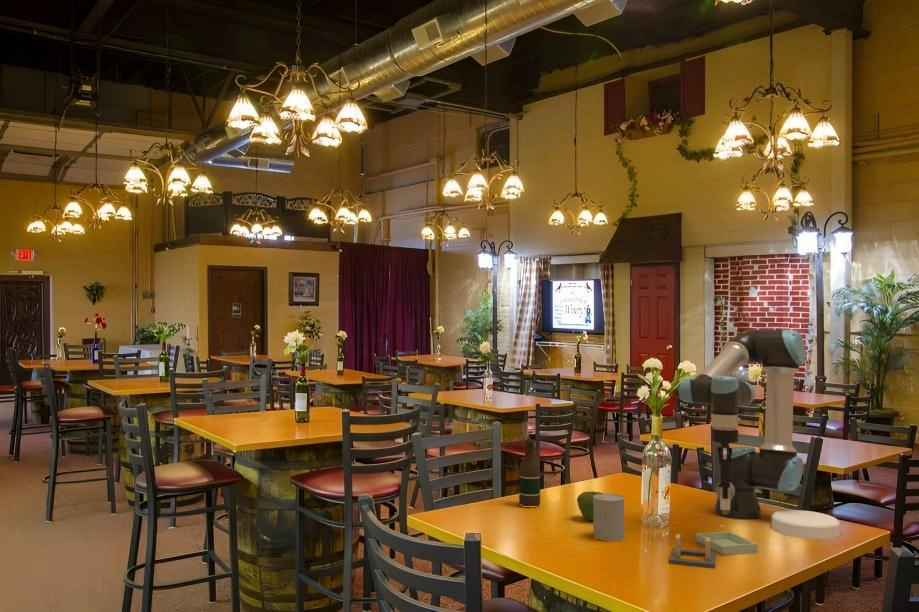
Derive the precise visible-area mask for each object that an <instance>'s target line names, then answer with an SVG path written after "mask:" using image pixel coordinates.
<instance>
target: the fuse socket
mask: <svg viewBox="0 0 919 612" xmlns="http://www.w3.org/2000/svg"><path fill="white" fill-rule="evenodd" d="M674 538H675V539H674V541H675V542H674V545H675V546H674V547H672V548H671V551H670V554H669V559H668V564H673V565H682V566H693V567H700V568H708V569H716V561H717V553H716V552H714V551H711V550H710V537H706V540H705V550H701V549H700V550H699V549H692V548H691V549H690V548H689V549H687V548H682V545H681V544H682V543H681V542H682V539H681V538H682V535H681V534H680V533H679V534H677V533H676V534H675V537H674ZM682 555H684V556H692V557H700V558H701V557H703V558H704V559H705V560H701V559H691V558H683V557H681V556H682Z"/></svg>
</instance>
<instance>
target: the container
mask: <svg viewBox="0 0 919 612" xmlns="http://www.w3.org/2000/svg"><path fill="white" fill-rule="evenodd" d="M771 529H772V530H773V531H774V532H777V533H779V534H781V535H784V536H789V537H793V538H799V539H805V540H806V539H807V540H833V539H837V538H840V536H841V521H839V519H837V518H836V517H835V516H832V515H829V514H826V513H822V512H816V511H810V510H799V509H785V510H783V509H782V510H778V511H775V512H774V513H773V514H772V515H771Z"/></svg>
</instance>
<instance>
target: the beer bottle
mask: <svg viewBox="0 0 919 612" xmlns="http://www.w3.org/2000/svg"><path fill="white" fill-rule="evenodd" d="M535 443H536V441H535V439H533V438H532V439H531V438H529V439H525V441H524V444H525V446H524V448H525V449H524V460H523V462H522V464H521V466H520V469H519V475H518V476H519V479H518V480H519V482H518V483H519V484H518V485H519V486H518V489H519V491H518V493H519V494H518V499H519V500H518V501H519V504H521V505H523V506H539V504H540V505H541V470H540V467H539V465H538V463H537V462H536V453H535ZM539 507H540V506H539Z"/></svg>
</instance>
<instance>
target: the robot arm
mask: <svg viewBox="0 0 919 612" xmlns="http://www.w3.org/2000/svg"><path fill="white" fill-rule="evenodd" d="M806 357H807V350H806V344H805V341H804V339H803V336H802V335H801V333H800V332H799V331H796V330H792V329H791V330H790V329H753V330H752V329H751V330H748V331H747V330H746V331H744V332H742V333H740V334H738V335H736V336H734V337H733V338H730V339H729V340H728V341H727V342H726V343H725V344H724V345H723V346H722V348H721V352H720V353H719V354H718V355H716V357H715V358H713V360H712V361H711V362H709V363H708V365H707V366H705V368H704V369H703V370H701V372H700V373H699V374H698V375H697V376H696V377H695V378H693V379H692V378H687V379H686V378H685V379H682V380H681V381H680V383H679V385H678V394H679V395H678V396H679V399H680V401H682V402H684V403H689V404H690V403H691V404H700V405H701V404H703V405H711V415H710V417H711V420H710V421H711V422H710V423H711V428H712V429H711V441H713V442H715V443H720V446H718V447H717V454H718V463H719V465H718V466H719V482H720V481H721V483H720V485H718V487H720V499H719V498H718V496H717V497H716V501H715V504H714V513H716V514H717V515H719V516H722V517H725V518H731V519H732V518H733V519H739V520H741V519H743V520H745V519H746V520H748V519H749V520H750V519H757V518H760V517H761V516H762V511H761V510H762V509H761V506H760V503H759V500H758V497H757V495H756V487H757V488H758V487H759V488H765V489H772V490H778V491H785V492H791V491H795V490H796V489H797V488H798V486H799V485H800V483H801V480H802V476H803V472H804V462H803V461H804V460H803V459H802V457H800V456H798V451H797V449H796V448H795V447H794V446H793V430H794V429H793V428H794V427H793V426H794V425H793V424H794V392H795V391H794V386H795V374H797V373H798V371H799V370H800V366H802V365H804V364H805V362H806ZM753 363H754V364H757V363H758V364H762V365H761V366H762V367H761V368H762V369H763V371H765V374H766V386H765V388H766V389H765V390H766V393H765V394H766V395H765V421H764V422H765V424H764V427H765V428H764V429H765V430H764V443H763V444H762V445H761V446H759V452H758V451H757V452H756V448H755V447H754V446H733V447H732V446H731V447H730V444H736V443H738V442H739V430H738V428H739V422H741V418H740V417H739V407H745V406H747V405H750V404H752V403H753V401H754V400H755V397H756V390H755V388H754V387H753V385H752V384H751V383H749V382H747V381H744V380H739V379H738V377H736V376H732V375H733V374H734V373H735V371H737V369H738V368H742V367H744V366H745V365H747V364H753ZM729 482H730V483H732V484H733V486H734V488H735V494H734V496H733V498H732V500H731V501H730V484H729ZM721 509H722V510H729V514H727V515H724V514H722V513H721V512H722V510H721Z"/></svg>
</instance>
